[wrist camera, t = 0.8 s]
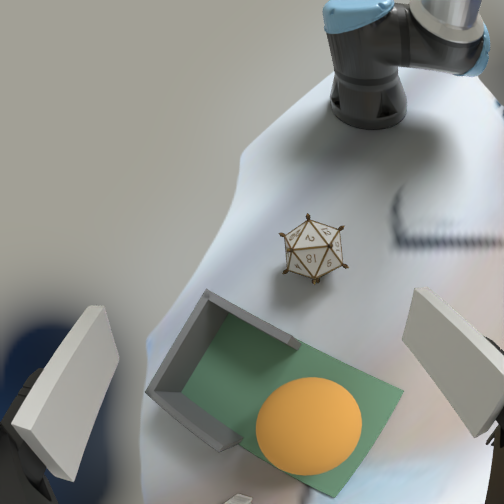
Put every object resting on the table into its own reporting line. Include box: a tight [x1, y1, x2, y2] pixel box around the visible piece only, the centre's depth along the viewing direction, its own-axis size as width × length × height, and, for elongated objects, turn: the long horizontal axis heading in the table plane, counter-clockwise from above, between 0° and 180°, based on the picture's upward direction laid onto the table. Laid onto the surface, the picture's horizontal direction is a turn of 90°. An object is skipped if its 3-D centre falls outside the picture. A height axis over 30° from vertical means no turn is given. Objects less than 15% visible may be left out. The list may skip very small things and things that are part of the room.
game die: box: [279, 213, 349, 285], centre depth 37 cm, size 9×8×10 cm
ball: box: [256, 377, 362, 476], centre depth 27 cm, size 11×11×11 cm
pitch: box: [145, 289, 404, 498], centre depth 32 cm, size 16×27×7 cm, turn 58°
